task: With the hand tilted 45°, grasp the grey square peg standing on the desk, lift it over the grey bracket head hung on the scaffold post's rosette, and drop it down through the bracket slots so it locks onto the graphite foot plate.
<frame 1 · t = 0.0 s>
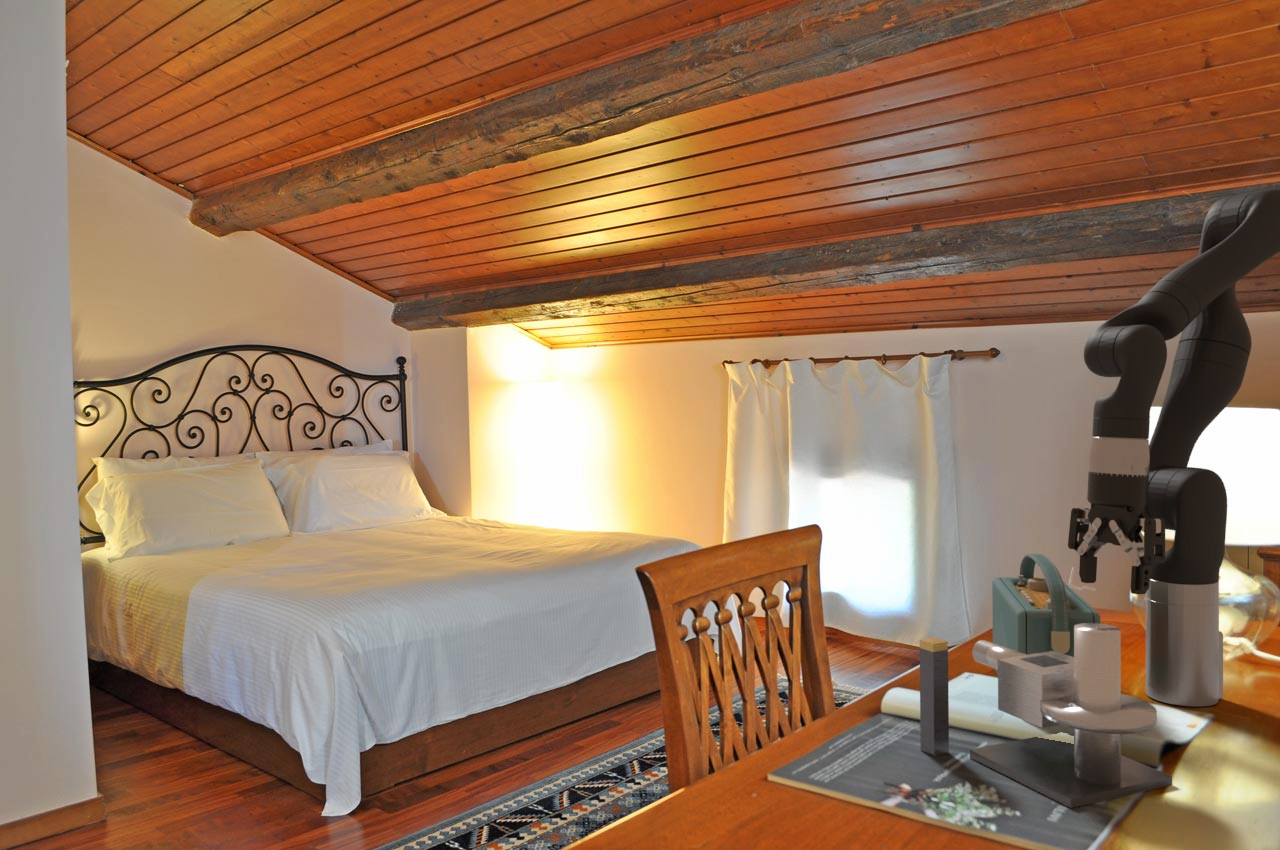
hand: (1112, 588, 137), 17 cm above the table, tool pointing down, fingers open, 8 cm apart
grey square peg: (934, 751, 124), on the table
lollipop: (1068, 631, 182), on the table
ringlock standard: (1044, 760, 120), on the table
radio: (1043, 694, 146), on the table
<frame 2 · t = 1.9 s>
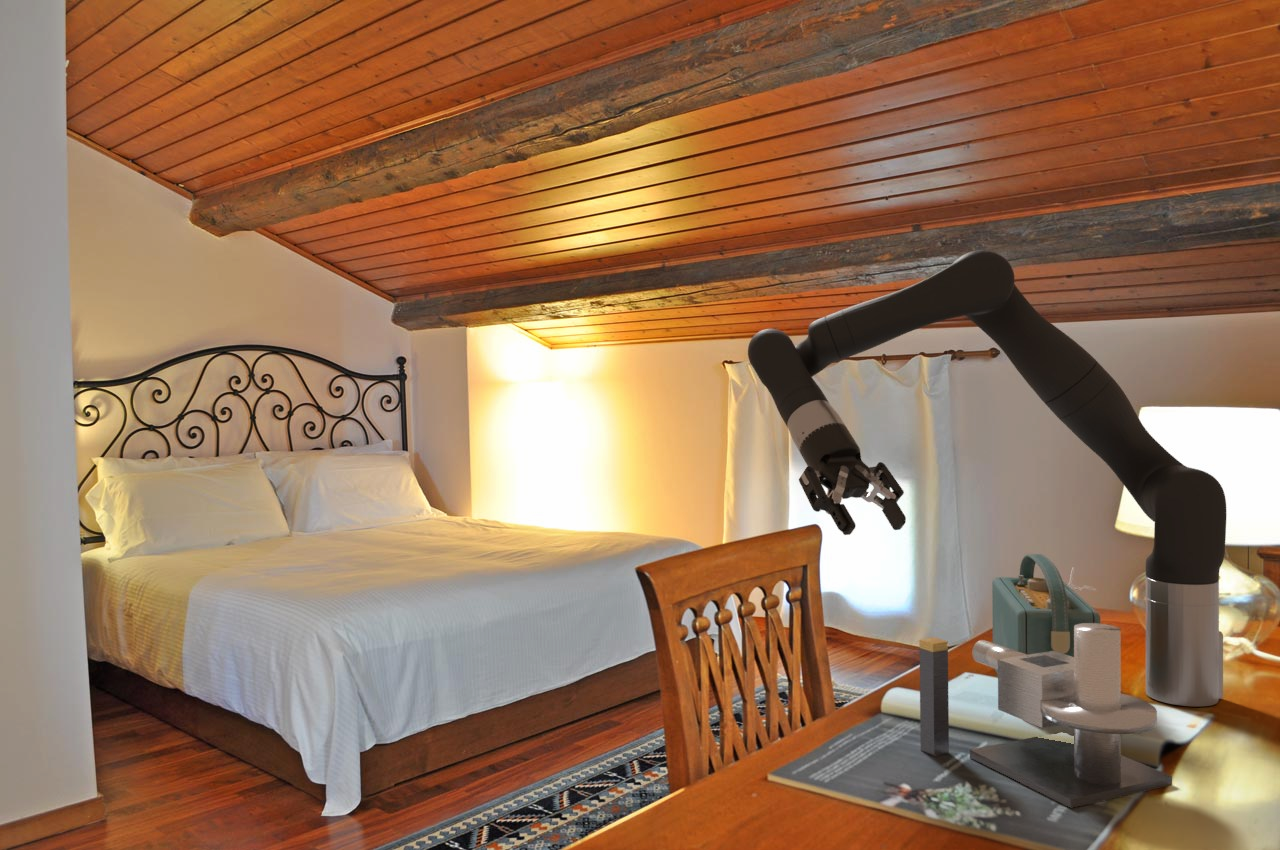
hand: (876, 528, 132), 27 cm above the table, tool tilted 45°, fingers open, 8 cm apart
nothing on the table moved.
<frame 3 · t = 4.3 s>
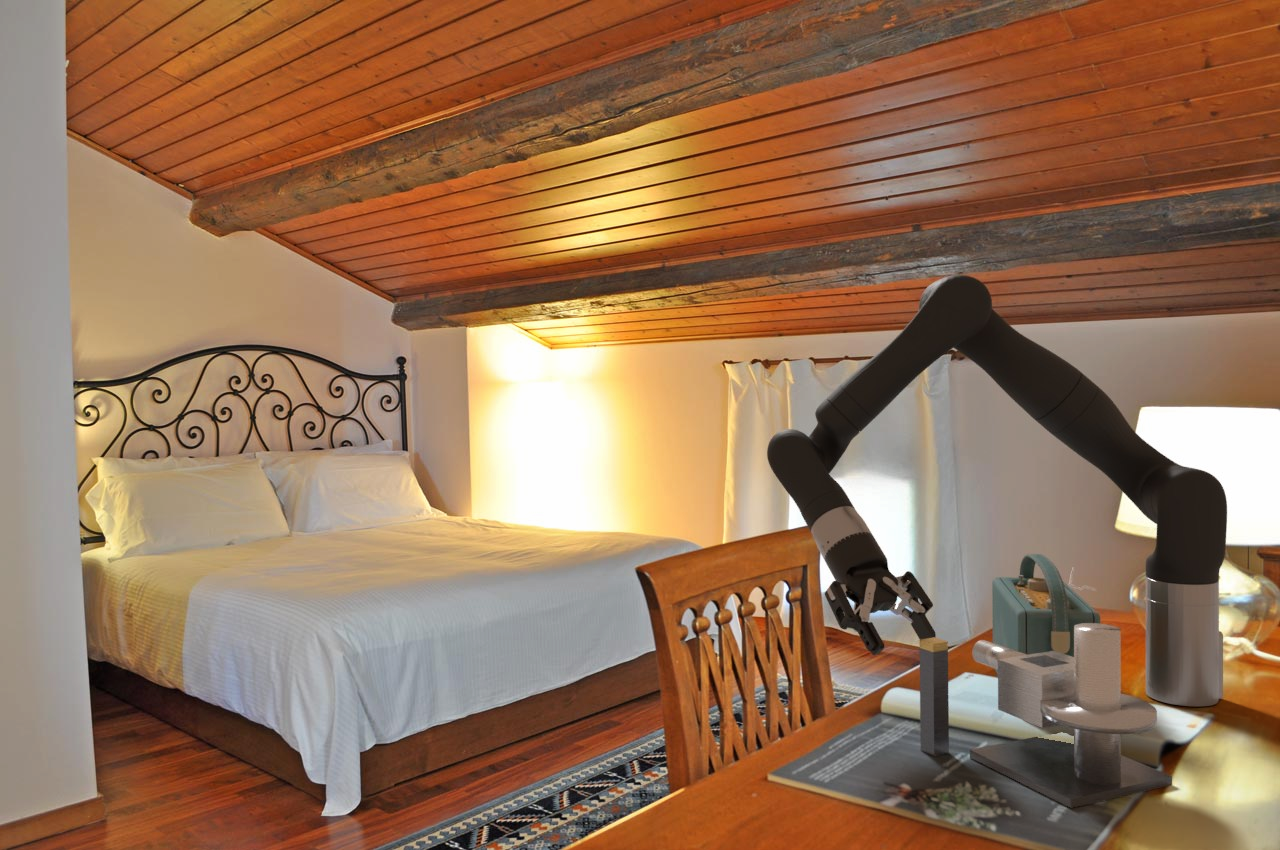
hand: (905, 647, 128), 12 cm above the table, tool tilted 45°, fingers open, 8 cm apart
nothing on the table moved.
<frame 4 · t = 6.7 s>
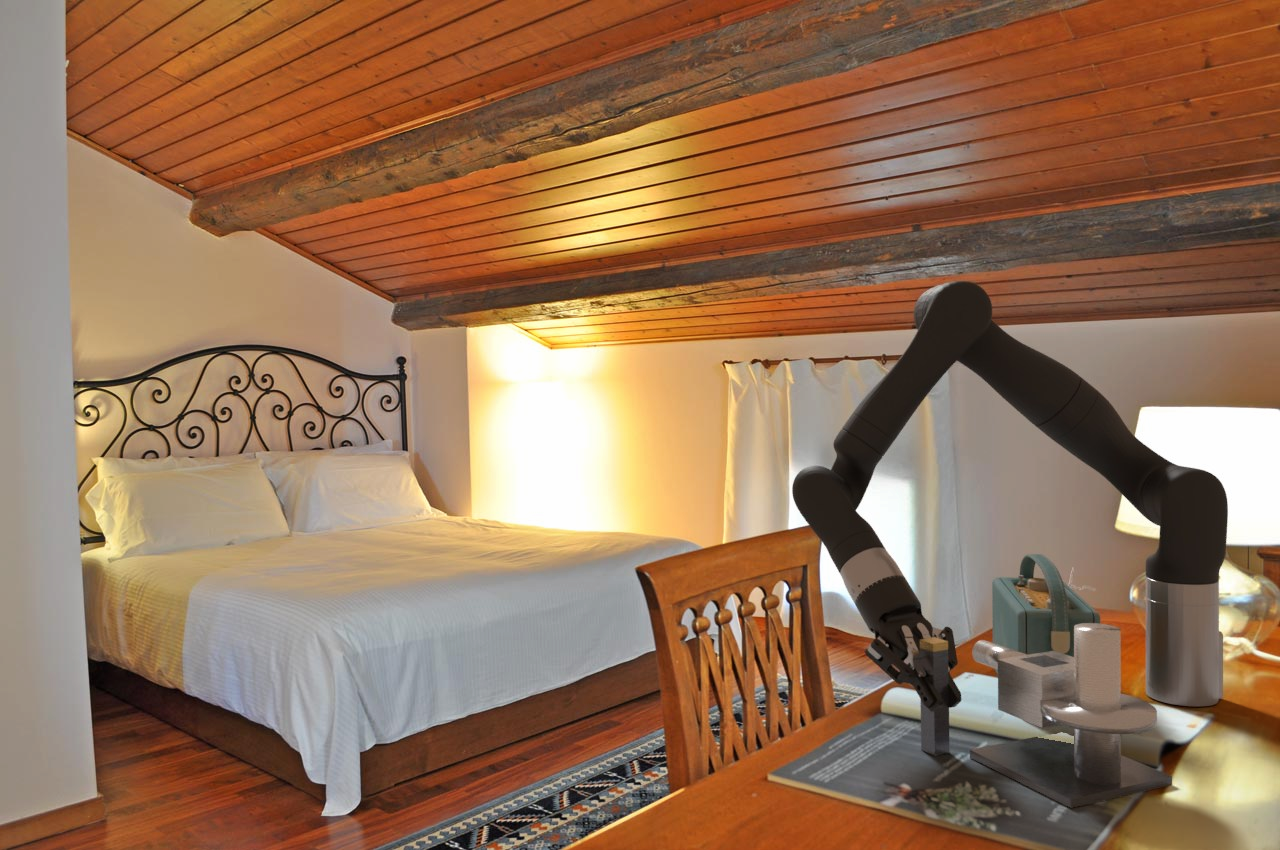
hand: (946, 705, 122), 6 cm above the table, tool tilted 45°, fingers closed on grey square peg, 2 cm apart
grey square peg: (935, 751, 124), on the table, touching gripper
everything else where it was.
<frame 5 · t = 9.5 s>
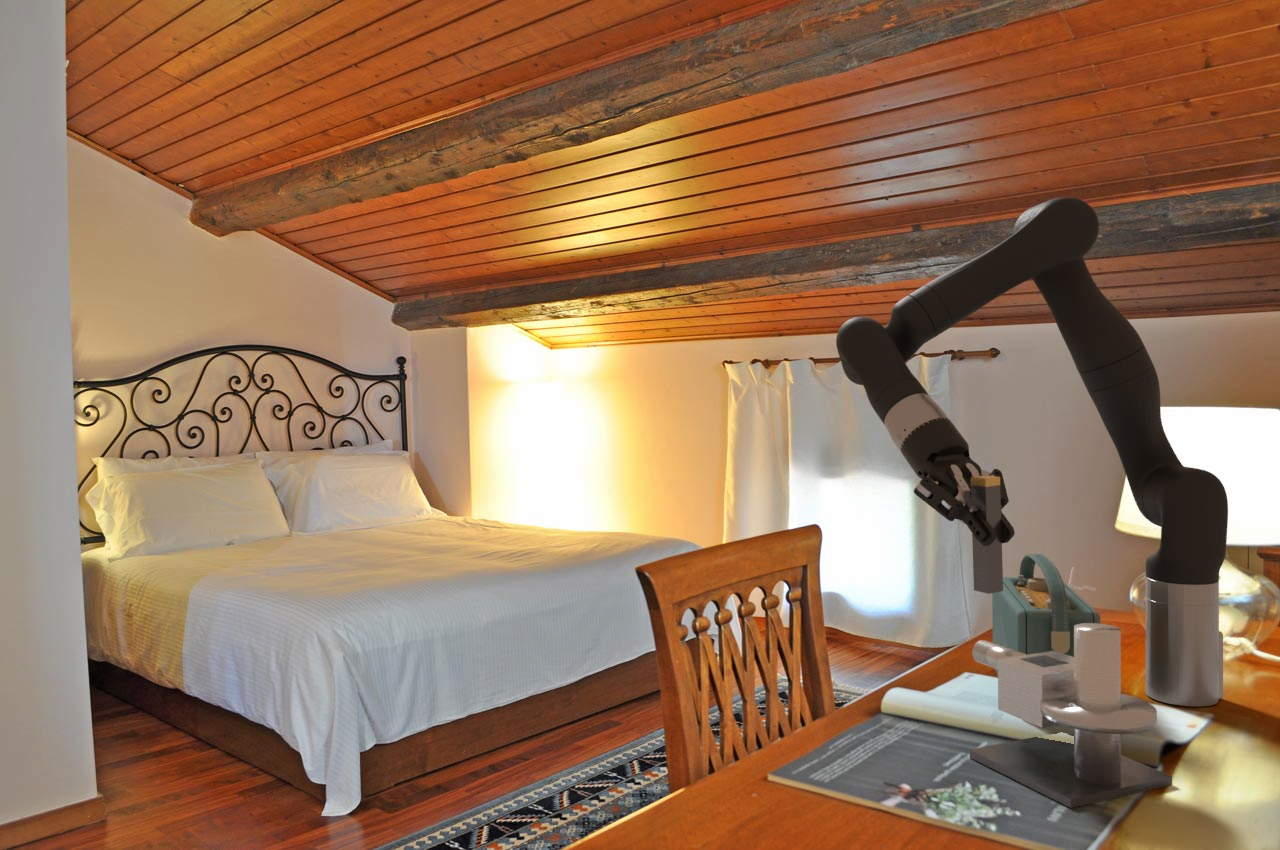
hand: (999, 539, 120), 27 cm above the table, tool tilted 45°, fingers closed on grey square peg, 2 cm apart
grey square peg: (988, 590, 122), point 20 cm above the table, touching gripper
everything else where it was.
when the fingers open (16 cm above the table, at t = 12.3 s): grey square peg drops 9 cm, resting on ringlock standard.
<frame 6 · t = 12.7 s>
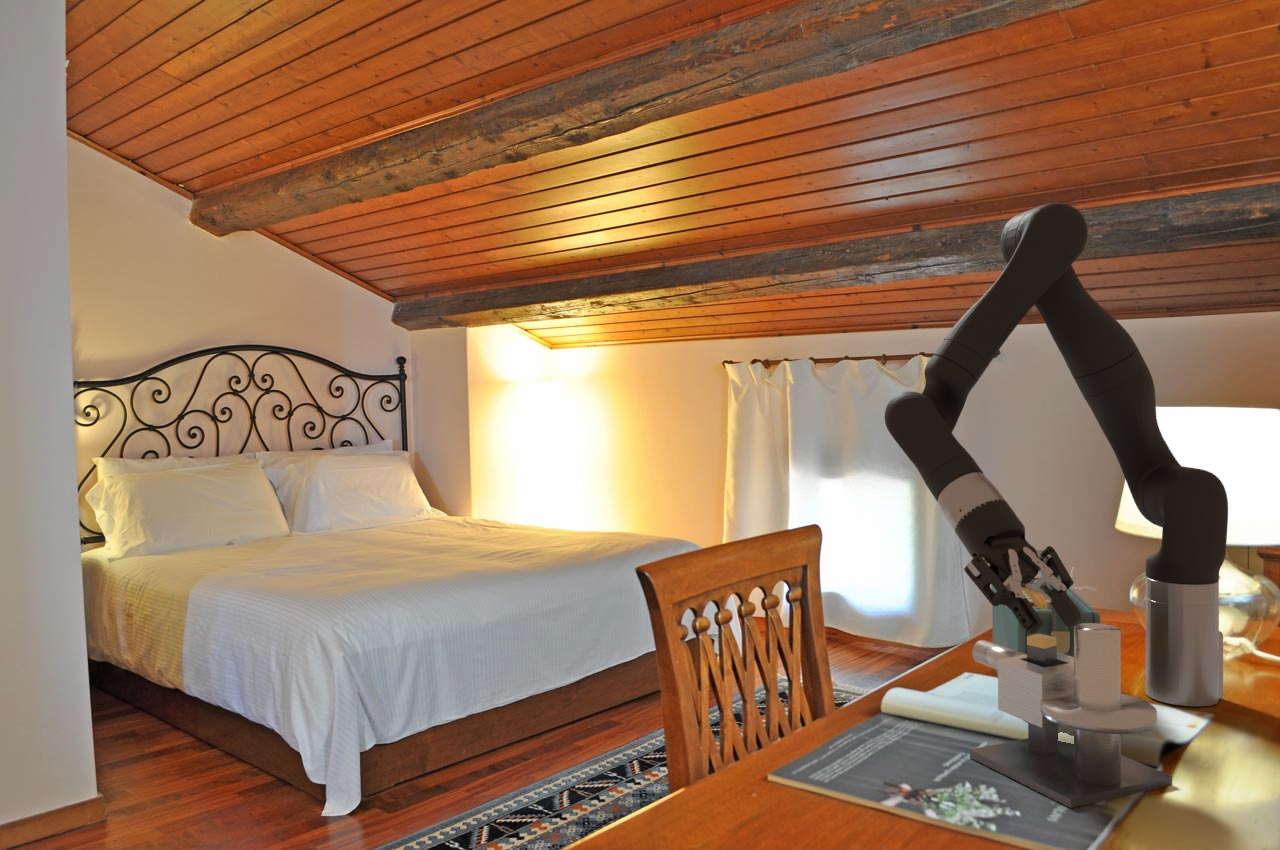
hand: (1056, 625, 118), 17 cm above the table, tool tilted 45°, fingers open, 6 cm apart
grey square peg: (1043, 751, 121), point 1 cm above the table, touching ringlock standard
everything else where it was.
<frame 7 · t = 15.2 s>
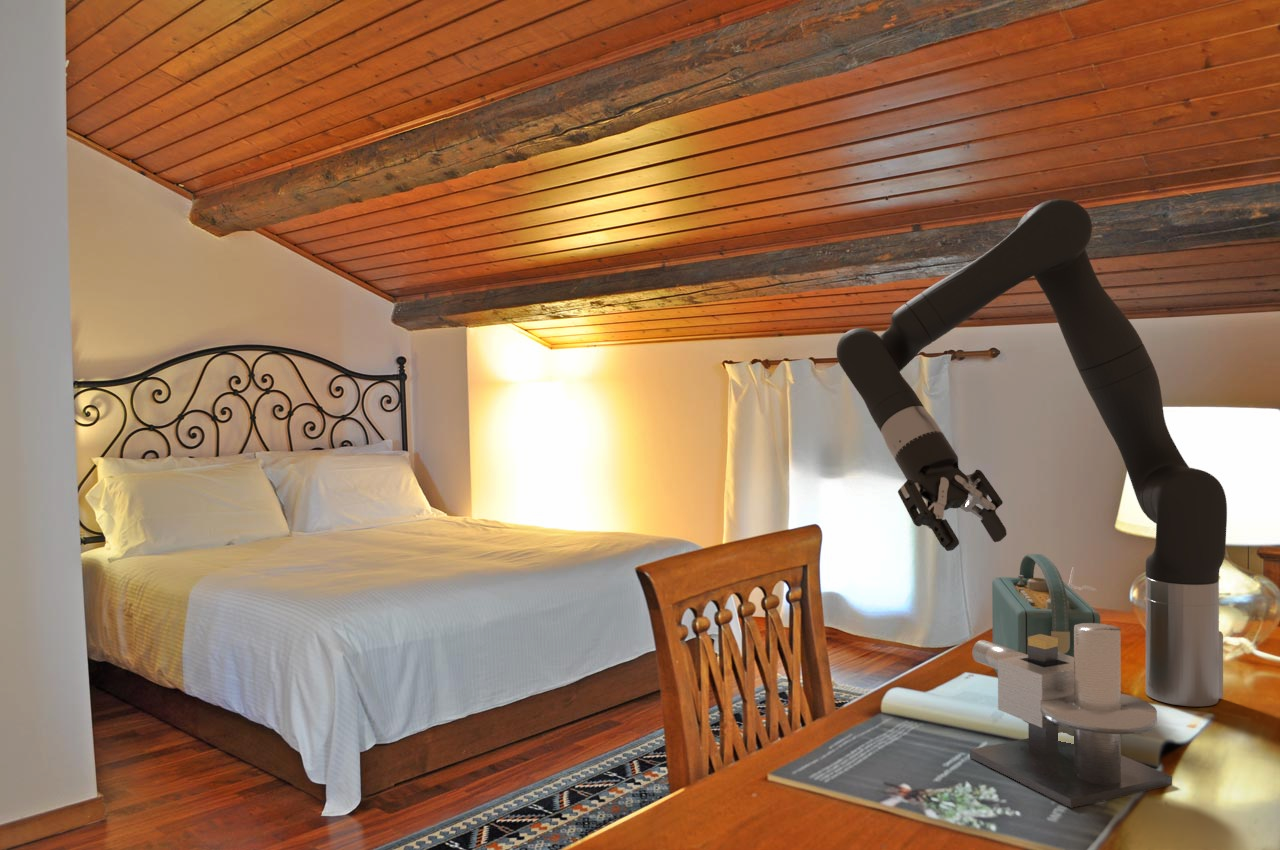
hand: (978, 543, 131), 25 cm above the table, tool tilted 40°, fingers open, 8 cm apart
nothing on the table moved.
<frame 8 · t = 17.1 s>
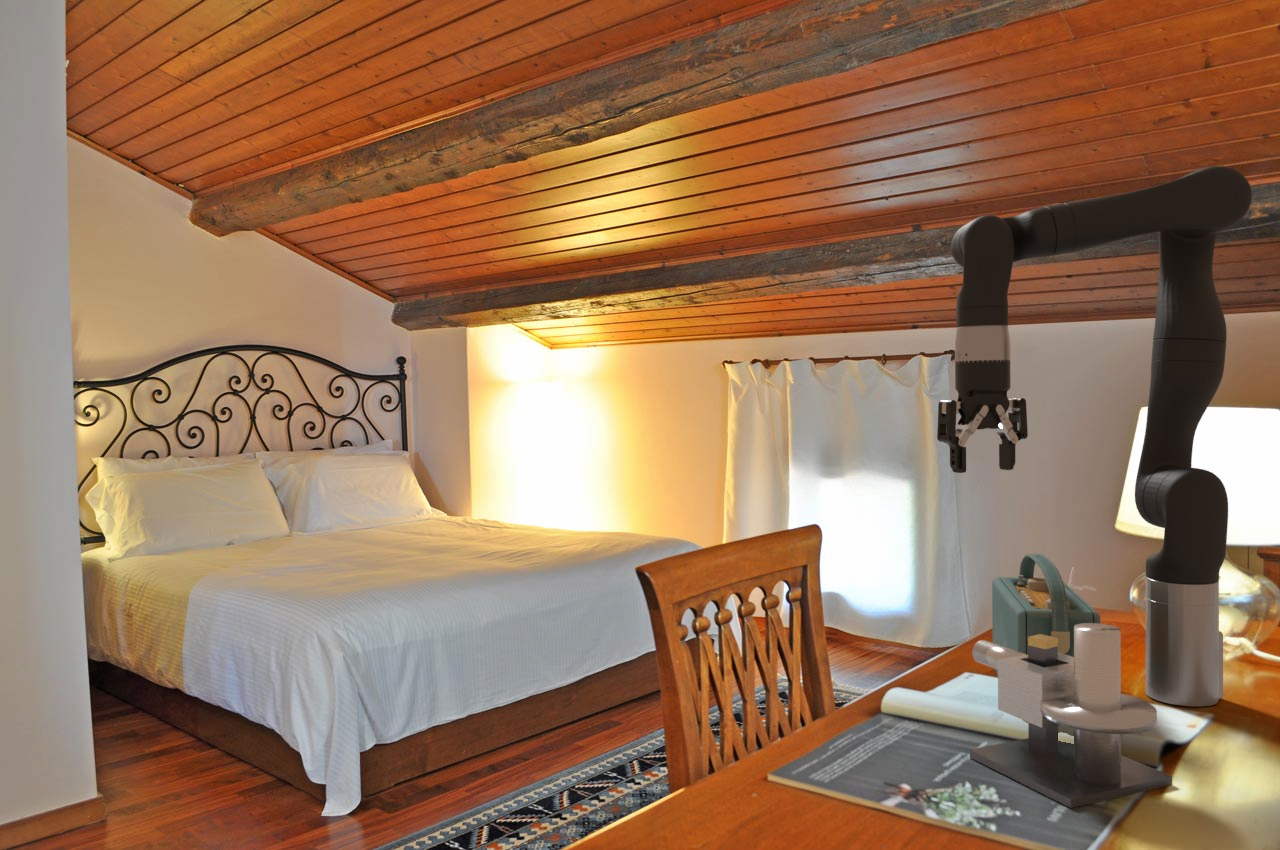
hand: (983, 471, 143), 33 cm above the table, tool pointing down, fingers open, 8 cm apart
nothing on the table moved.
at the end: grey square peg 0.3 cm off-centre on the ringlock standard, point 1.0 cm above the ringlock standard's base; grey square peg tilted 0°; the gripper is holding nothing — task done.
